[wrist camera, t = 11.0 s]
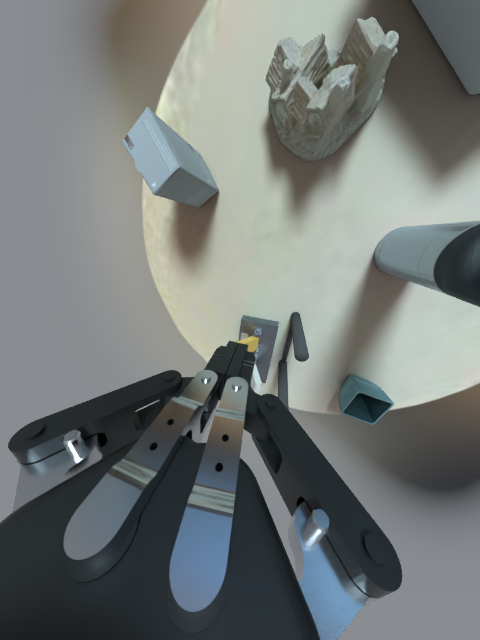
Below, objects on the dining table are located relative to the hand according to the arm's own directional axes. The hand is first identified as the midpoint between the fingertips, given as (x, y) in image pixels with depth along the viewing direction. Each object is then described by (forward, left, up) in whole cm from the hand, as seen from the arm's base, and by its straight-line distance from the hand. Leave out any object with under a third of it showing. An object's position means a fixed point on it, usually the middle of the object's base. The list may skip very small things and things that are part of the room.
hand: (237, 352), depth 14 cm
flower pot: (-30, +28, -35) cm, 54 cm away
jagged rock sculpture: (-4, -30, -35) cm, 47 cm away
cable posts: (-9, +18, -35) cm, 41 cm away
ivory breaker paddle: (0, +27, -31) cm, 41 cm away
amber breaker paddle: (0, +18, -31) cm, 36 cm away
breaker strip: (0, +23, -35) cm, 42 cm away
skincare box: (+19, -17, -35) cm, 44 cm away
